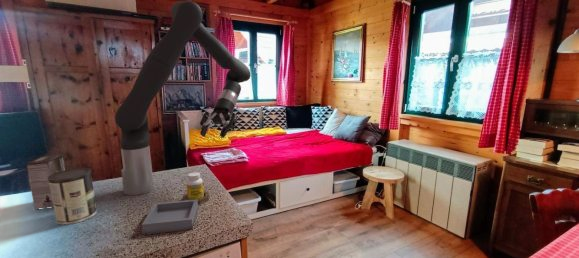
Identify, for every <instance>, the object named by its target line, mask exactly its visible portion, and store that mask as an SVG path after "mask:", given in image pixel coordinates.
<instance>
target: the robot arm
mask: <svg viewBox="0 0 579 258" xmlns="http://www.w3.org/2000/svg"><path fill="white" fill-rule="evenodd" d="M170 17H171V19H172V23H171V25H170V27H169V29H168V30H167V32H166V34H164V36H163V37H162V38H161V39H160V40H159V41H158V42H157V43H156V44H155V46H153V47H152V48H151V50H150V52H149V54H148V55H147V56H146V59H145V60H144V63H143V64H142V66H141V68H140V71H139V72H138V75H137V77H136V79H135V81H134V84H133V86H132V88H131V90H130V92H129V93H128V95H127V96H126V97H125V99H124V101H123V102H122V103H121V105H120V106H119V107H118V109H117V110H116V111H115V115H114V121H115V123H116V126H117V127H118V128H119V129H120V132H121V133H120V134H121V135H120V142H119V145H120V152H121V159H122V160H121V161H122V168H121V170H120V171H121V179H122V186H123V194H124V195H128V196H139V195H144V194H148V193H149V192H152V191H154V188H155V186H154V176H153V167H152V166H153V165H152V157H151V149H150V128H149V117H148V111H149V109H150V106H151V104H152V102H153V101H154V99H155V97H156V96H157V94H158V93H159V92H160V91H161V90H162V88H164V86H165V84H166V83H167V82H168V80H169V78H171V75H172V74H173V71H174V69H175V68H176V65H177V63H178V61H179V60H180V58H181V56H182V54H183V52H184V50H185V48H186V46H187V44H189V43H188V42H189V41H190V40H191V38H193V39H194V40H195V41H196V42H197V43H198V44H199V45H200V46H201V47H202V48H203V49H204V50H205V51H206V52H207V53H208V54H209V56H210V57H211V58H212V59H213V60H214V61H215V62H216V63H217V64H218V66H220V68H221V69H223V70H228V71H227V72H226V74H225V81H224V82H225V84H224V86H223V87H222V88H223V89H222V90H221V92H220V94H219V95H218V98H217V100H216V102H215V104H214V106H213V111H212V113H209V112H207V111H206V112H205V113H204V114H203V116H202V118H201V120H200V122H199V125H200V126H201V130H200V135H201V136H202V137H206V134H207V132H208V131H209V129H210V127H213V126H215V125H223V127H222V128H221V130H220V133H219V136H220V138H222V139H224V138H225V137H226V136H227V134H228V131H229V130H230V129H231V130H233V129H234V128H235V125H236V122H237V120H238V116H237V115H236V113H235V112H234V109H235V108H236V105H237V101H238V98H239V96H240V94H241V91H242V86H241V84H240V83H244V82H247V81H249V80H250V79H251V77H252V76H251V71H250V69H249V66H247V65H246V64H245V63H244V62H242V61H241V60H240V59H239V58H237V57H235V56H234V55H233V54H232V53H231V51H229V50H230V49H228V48H227V47H226V45H224V44H223V43H222V42H221V41H220V40H219V39H218V38H217V37H215V35H213V34H212V32H210V31H209V30H208V29H207V28H206V27H205V25H204V24H203V23H202V22H203V11H202V9H201V7H200V6H199V4H197V3H196V2H194V1H192V0H180V1H177V2H175V3H173V4H172V6H171V8H170ZM228 121H229V122H228Z"/></svg>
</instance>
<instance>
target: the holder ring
mask: <svg viewBox="0 0 579 258" xmlns="http://www.w3.org/2000/svg"><path fill="white" fill-rule="evenodd" d="M203 192H204V197H203V198H201V199H198V206H201V205H202V204H204V203H207V202H208V201H209V198H210V192H209V191H206V190H203ZM185 200H188V194H187V193H185V194H183V196H182V199H181V201H185Z"/></svg>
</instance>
